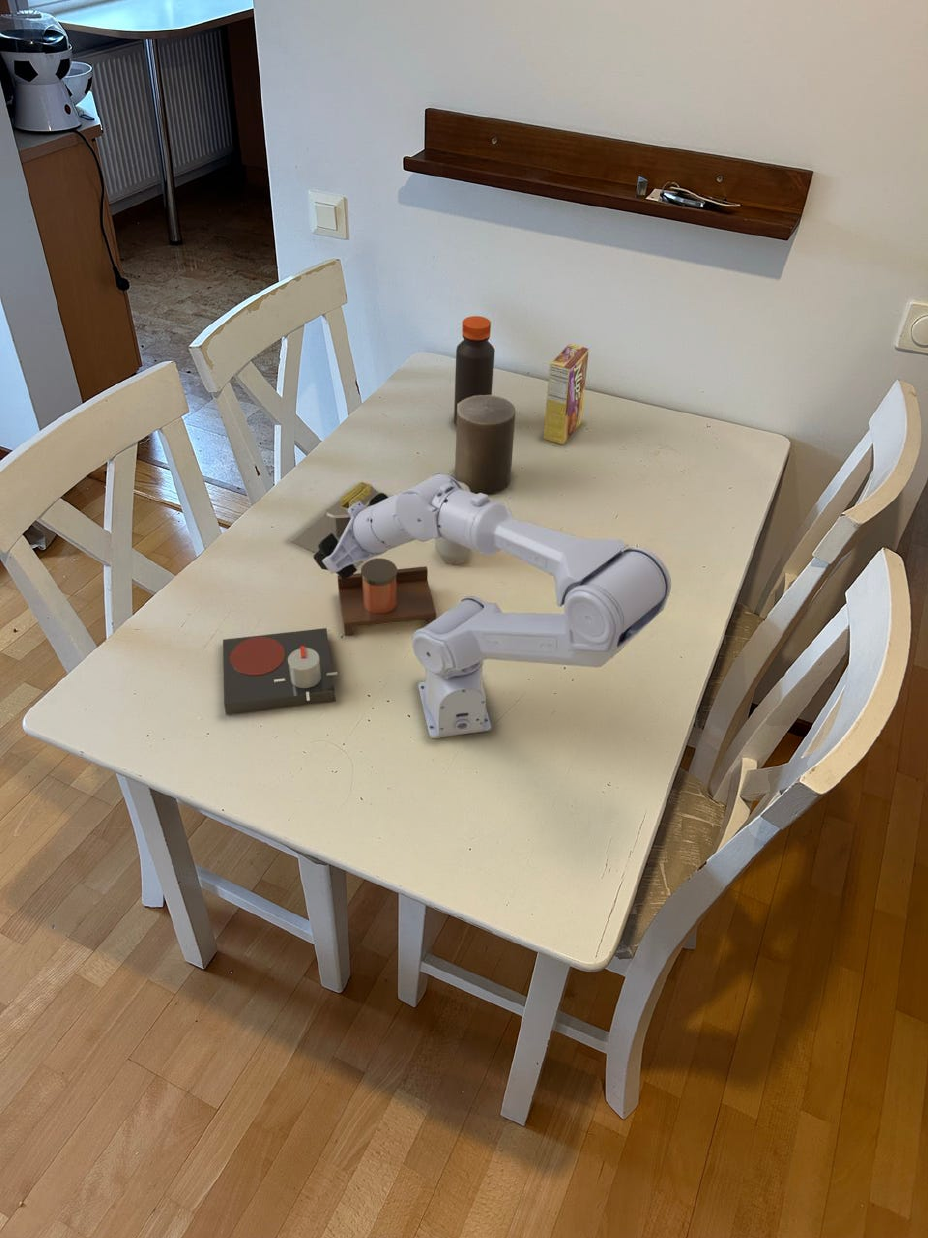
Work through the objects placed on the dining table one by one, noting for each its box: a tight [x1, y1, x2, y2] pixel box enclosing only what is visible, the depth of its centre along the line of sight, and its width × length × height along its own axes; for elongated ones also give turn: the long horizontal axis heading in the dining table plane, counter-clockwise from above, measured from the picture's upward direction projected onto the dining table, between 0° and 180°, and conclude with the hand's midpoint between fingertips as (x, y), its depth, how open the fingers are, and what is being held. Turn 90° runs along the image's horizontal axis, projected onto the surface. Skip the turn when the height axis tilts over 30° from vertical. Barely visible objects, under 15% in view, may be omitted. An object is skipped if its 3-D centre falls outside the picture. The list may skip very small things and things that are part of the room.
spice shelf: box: [336, 565, 437, 636], centre depth 131 cm, size 8×13×4 cm, turn 102°
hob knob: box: [288, 646, 321, 688], centre depth 118 cm, size 4×4×4 cm
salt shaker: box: [434, 482, 472, 565], centre depth 138 cm, size 6×6×13 cm
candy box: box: [543, 343, 590, 445], centre depth 165 cm, size 9×4×15 cm, turn 152°
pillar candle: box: [454, 394, 516, 496], centre depth 153 cm, size 10×10×15 cm
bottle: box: [453, 315, 495, 427], centre depth 164 cm, size 7×7×20 cm
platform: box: [291, 481, 379, 568], centre depth 145 cm, size 12×18×7 cm, turn 149°
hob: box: [222, 627, 338, 716], centre depth 121 cm, size 13×15×2 cm
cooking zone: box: [230, 637, 285, 676], centre depth 122 cm, size 7×7×1 cm
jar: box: [360, 558, 398, 613], centre depth 128 cm, size 5×5×6 cm
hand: (339, 545), depth 120 cm, fingers open, 7 cm apart
